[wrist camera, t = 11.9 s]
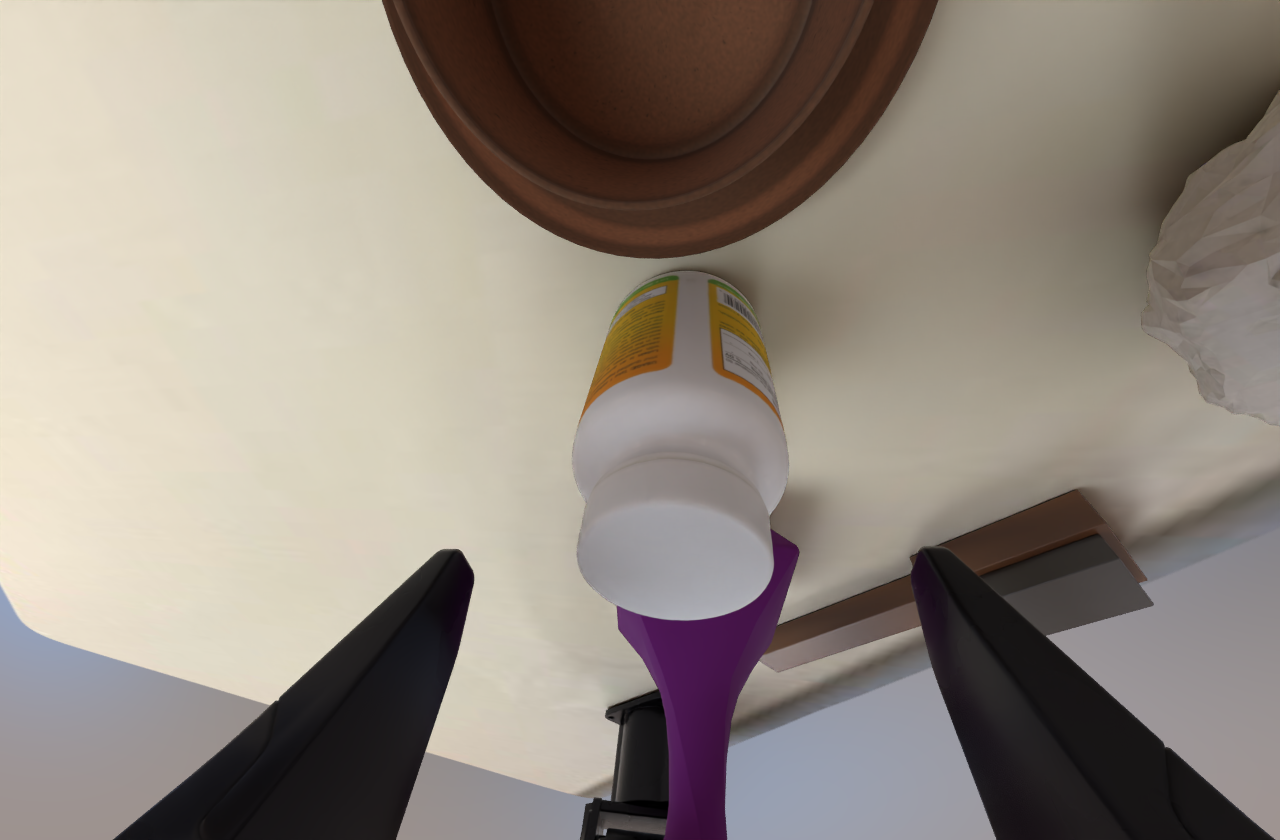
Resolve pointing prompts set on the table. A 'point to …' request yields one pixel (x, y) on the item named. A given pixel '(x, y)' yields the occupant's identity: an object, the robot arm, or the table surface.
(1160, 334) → the fossil replica
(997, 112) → the table surface
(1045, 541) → the hairbrush
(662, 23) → the cup and saucer
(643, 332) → the supplement bottle
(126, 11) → the table surface
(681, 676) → the perfume bottle
